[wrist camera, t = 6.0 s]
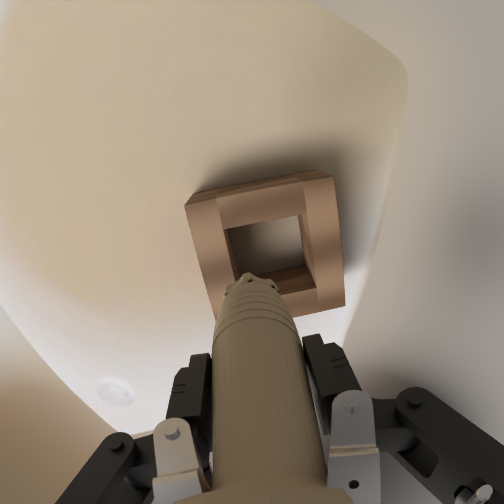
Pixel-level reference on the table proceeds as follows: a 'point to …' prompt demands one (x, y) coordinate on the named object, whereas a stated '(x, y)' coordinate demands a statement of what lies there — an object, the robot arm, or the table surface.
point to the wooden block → (268, 208)
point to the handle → (263, 406)
